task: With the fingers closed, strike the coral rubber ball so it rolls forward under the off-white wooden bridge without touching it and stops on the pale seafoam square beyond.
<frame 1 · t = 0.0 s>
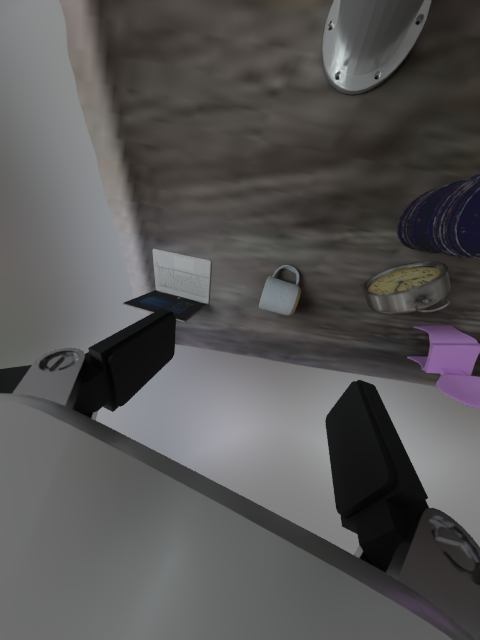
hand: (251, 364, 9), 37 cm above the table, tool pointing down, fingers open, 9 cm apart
storage jar: (430, 220, 32), on the table
toy chair: (427, 341, 40), on the table
alarm clock: (387, 280, 38), on the table
laptop: (182, 276, 52), on the table
ceramic mug: (281, 286, 45), on the table
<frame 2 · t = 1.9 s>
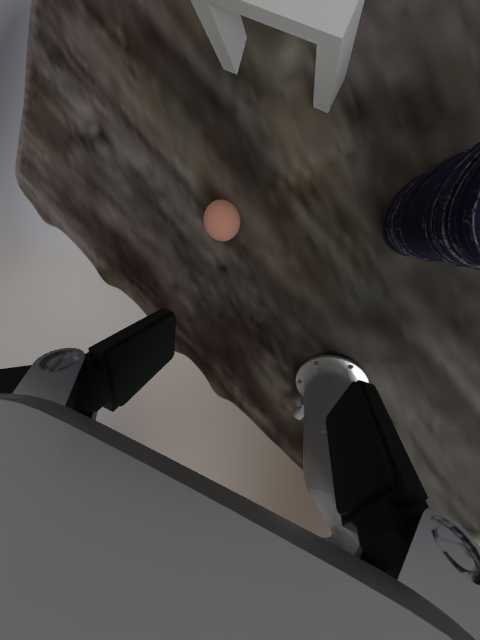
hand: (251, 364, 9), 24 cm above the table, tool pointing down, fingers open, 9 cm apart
bridge: (280, 72, 21), on the table
storage jar: (428, 215, 22), on the table
ball: (222, 221, 27), on the table
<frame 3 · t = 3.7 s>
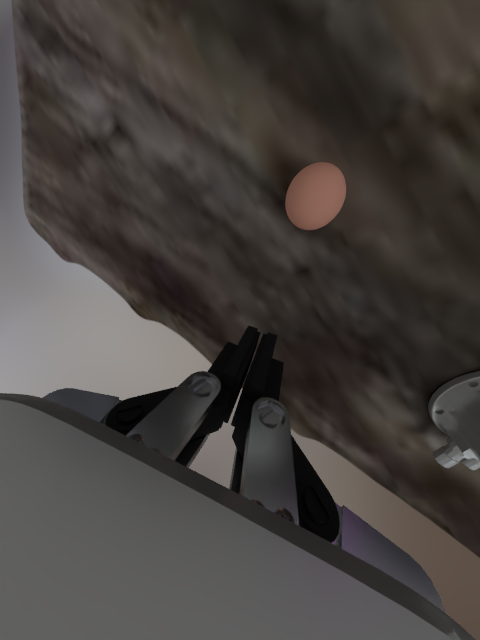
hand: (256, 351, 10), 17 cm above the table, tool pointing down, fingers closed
ball: (313, 199, 18), on the table
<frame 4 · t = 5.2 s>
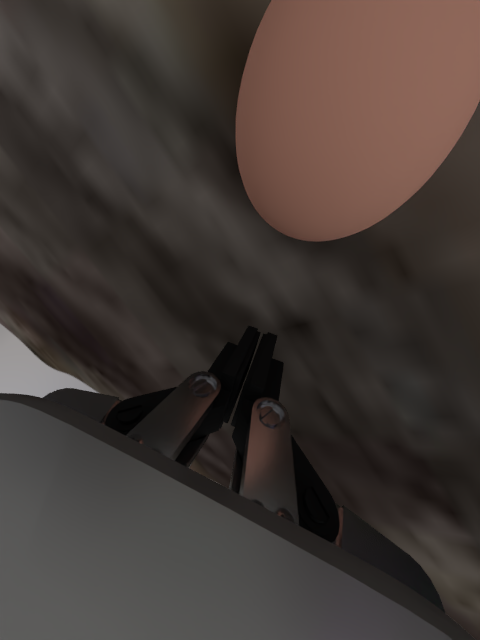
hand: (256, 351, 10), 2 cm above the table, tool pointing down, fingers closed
ball: (332, 135, 5), on the table
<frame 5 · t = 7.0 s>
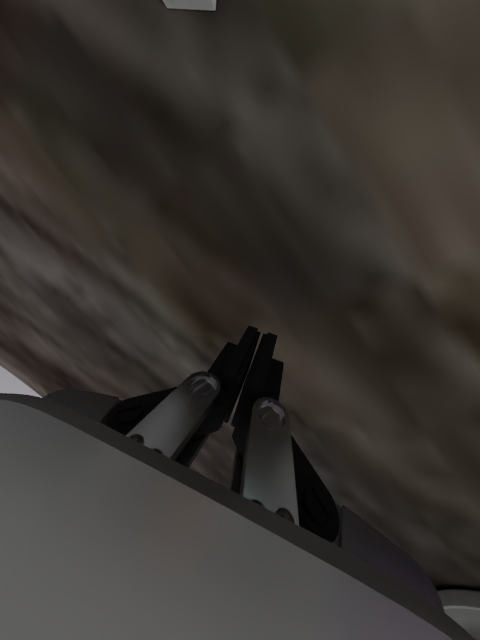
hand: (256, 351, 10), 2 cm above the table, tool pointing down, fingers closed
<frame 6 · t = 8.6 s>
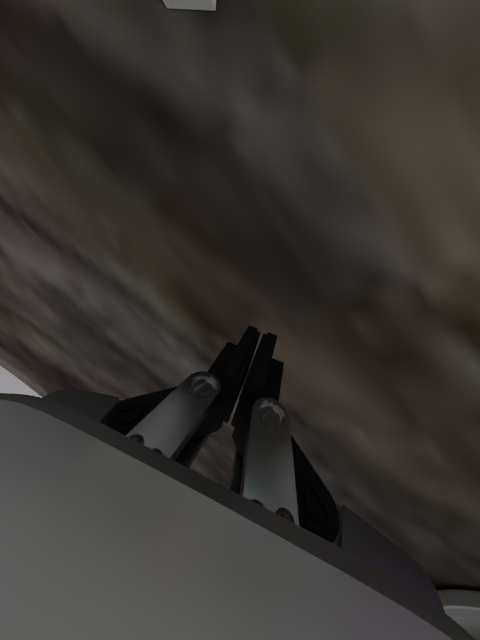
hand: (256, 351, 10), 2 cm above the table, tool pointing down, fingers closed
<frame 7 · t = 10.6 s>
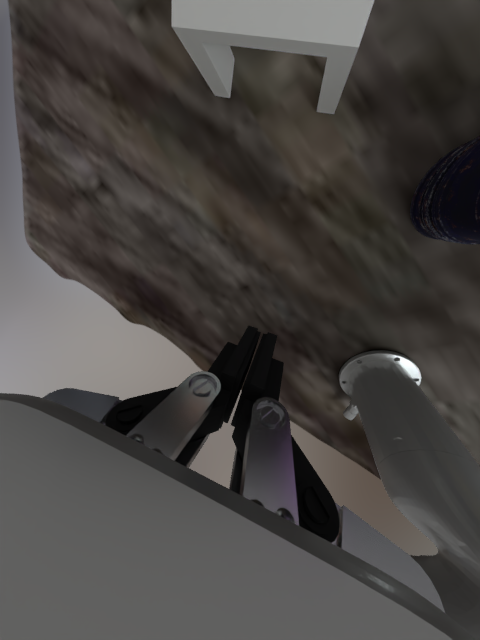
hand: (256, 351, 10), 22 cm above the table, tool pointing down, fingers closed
bridge: (275, 85, 21), on the table
storage jar: (461, 193, 21), on the table
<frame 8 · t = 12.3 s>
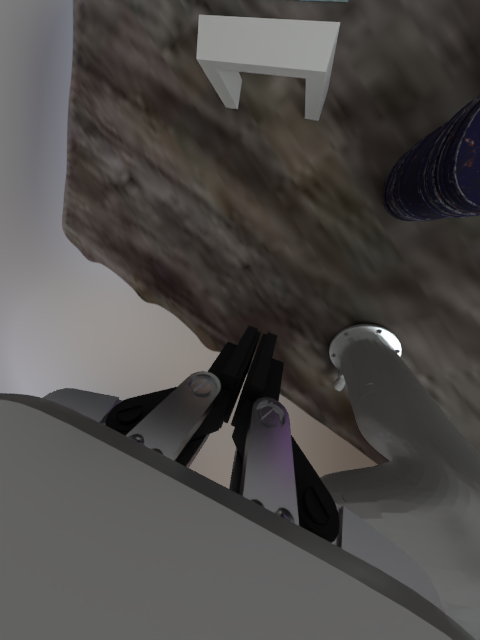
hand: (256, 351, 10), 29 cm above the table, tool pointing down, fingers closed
bridge: (273, 99, 26), on the table
storage jar: (423, 182, 26), on the table
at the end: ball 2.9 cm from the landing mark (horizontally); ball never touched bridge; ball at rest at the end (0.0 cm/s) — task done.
